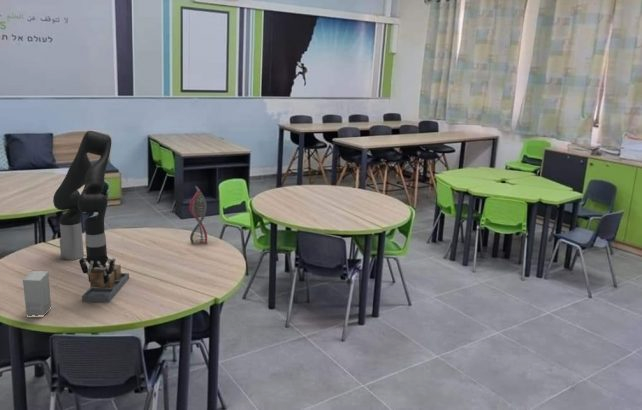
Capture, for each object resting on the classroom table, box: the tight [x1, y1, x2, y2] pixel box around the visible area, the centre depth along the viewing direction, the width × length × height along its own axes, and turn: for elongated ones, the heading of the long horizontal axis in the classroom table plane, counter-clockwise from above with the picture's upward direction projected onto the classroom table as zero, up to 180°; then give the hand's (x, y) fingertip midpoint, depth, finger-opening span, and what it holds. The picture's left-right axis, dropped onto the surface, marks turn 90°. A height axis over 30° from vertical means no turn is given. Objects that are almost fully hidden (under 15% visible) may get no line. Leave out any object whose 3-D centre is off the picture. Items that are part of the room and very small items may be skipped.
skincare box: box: [22, 270, 52, 316], centre depth 207 cm, size 8×7×16 cm
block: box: [89, 268, 108, 288], centre depth 221 cm, size 5×5×6 cm
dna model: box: [188, 185, 208, 245], centre depth 285 cm, size 9×9×30 cm
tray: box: [81, 264, 130, 303], centre depth 230 cm, size 11×24×7 cm, turn 0°
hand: (98, 282), depth 222 cm, fingers closed on block, 5 cm apart
